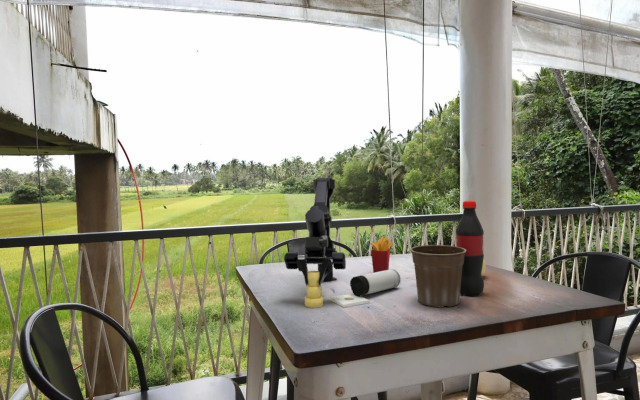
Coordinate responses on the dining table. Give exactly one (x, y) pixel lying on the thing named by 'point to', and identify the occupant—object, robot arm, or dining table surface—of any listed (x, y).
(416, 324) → the dining table surface
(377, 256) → the french fries
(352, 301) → the tile
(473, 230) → the cola bottle
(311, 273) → the yellow domed knob
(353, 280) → the travel mug
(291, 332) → the dining table surface
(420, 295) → the plant pot
